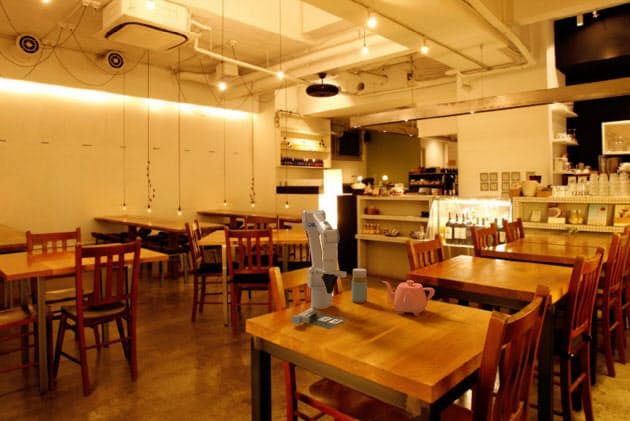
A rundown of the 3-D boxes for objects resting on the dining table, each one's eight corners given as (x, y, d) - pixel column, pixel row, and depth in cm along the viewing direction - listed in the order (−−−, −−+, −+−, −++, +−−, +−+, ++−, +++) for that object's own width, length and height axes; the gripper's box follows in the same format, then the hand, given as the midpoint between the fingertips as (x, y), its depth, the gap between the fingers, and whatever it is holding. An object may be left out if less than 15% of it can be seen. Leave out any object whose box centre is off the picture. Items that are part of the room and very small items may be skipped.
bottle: (349, 302, 199) (349, 270, 198) (355, 299, 205) (355, 267, 204) (363, 304, 196) (363, 271, 195) (369, 301, 202) (369, 269, 201)
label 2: (335, 319, 171) (335, 318, 171) (342, 321, 169) (342, 320, 169) (328, 322, 167) (328, 321, 167) (335, 324, 165) (335, 323, 165)
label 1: (325, 317, 174) (325, 316, 174) (332, 318, 172) (332, 318, 172) (317, 320, 170) (317, 319, 170) (324, 322, 168) (324, 321, 168)
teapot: (407, 320, 173) (407, 286, 172) (381, 309, 188) (381, 278, 187) (437, 314, 181) (437, 282, 180) (410, 305, 196) (410, 275, 195)
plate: (317, 314, 181) (317, 311, 181) (350, 321, 171) (350, 318, 171) (296, 322, 170) (296, 319, 170) (329, 331, 160) (329, 328, 160)
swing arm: (311, 313, 177) (311, 305, 176) (318, 314, 175) (318, 306, 175) (291, 325, 162) (291, 316, 162) (299, 326, 161) (299, 317, 161)
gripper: (309, 259, 175) (309, 292, 176) (339, 262, 166) (339, 297, 167) (320, 256, 181) (320, 289, 181) (349, 260, 172) (349, 294, 172)
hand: (329, 293), depth 174 cm, fingers closed
